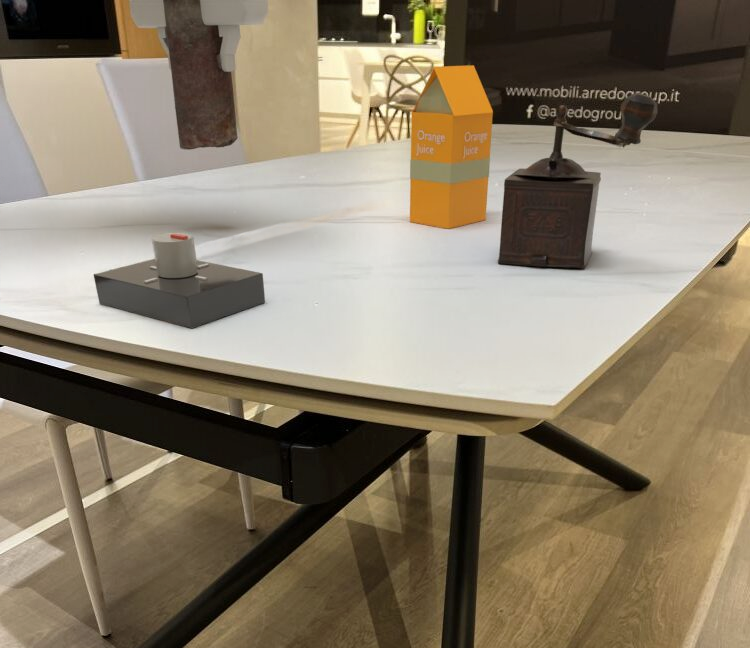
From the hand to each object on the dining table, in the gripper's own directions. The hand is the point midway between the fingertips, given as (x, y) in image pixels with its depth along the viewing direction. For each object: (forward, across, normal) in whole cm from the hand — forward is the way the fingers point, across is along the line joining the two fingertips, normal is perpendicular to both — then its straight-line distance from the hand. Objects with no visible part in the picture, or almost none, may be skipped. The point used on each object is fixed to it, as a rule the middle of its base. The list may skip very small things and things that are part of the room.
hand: (202, 71), depth 91 cm
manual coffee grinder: (+20, +43, +16) cm, 50 cm away
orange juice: (+20, +19, +28) cm, 39 cm away
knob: (+17, +18, -23) cm, 34 cm away
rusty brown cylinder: (+9, 0, 0) cm, 9 cm away
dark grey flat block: (+20, +18, -23) cm, 35 cm away
